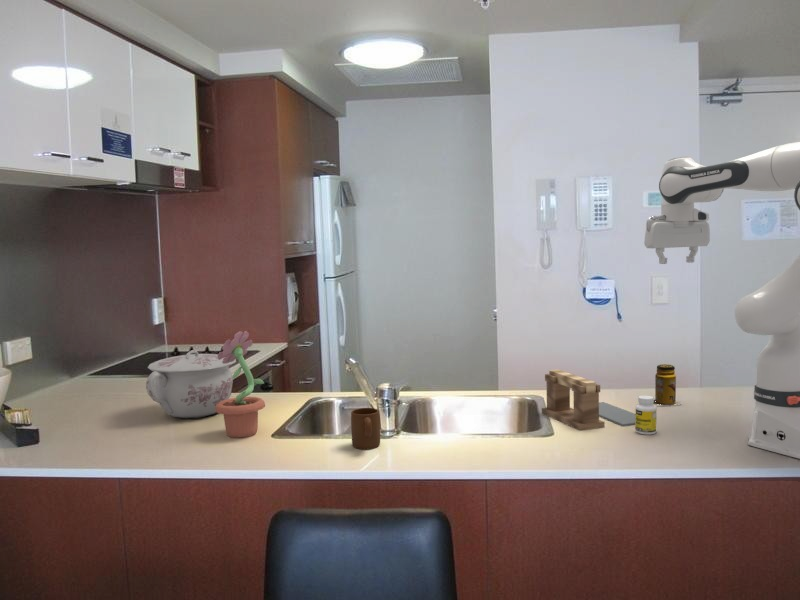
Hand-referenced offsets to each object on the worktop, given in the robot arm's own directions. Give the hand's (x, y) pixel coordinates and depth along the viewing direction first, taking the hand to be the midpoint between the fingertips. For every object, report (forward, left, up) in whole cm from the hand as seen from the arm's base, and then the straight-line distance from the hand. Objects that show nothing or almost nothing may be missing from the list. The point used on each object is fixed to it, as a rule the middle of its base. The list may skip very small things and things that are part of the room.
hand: (676, 263), depth 208 cm
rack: (+8, +30, -45) cm, 55 cm away
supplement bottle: (-11, +19, -45) cm, 50 cm away
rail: (+8, +30, -33) cm, 46 cm away
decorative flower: (+34, +122, -45) cm, 135 cm away
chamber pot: (+65, +134, -45) cm, 156 cm away
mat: (+8, +16, -45) cm, 48 cm away
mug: (+6, +93, -45) cm, 104 cm away
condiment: (+13, -6, -45) cm, 47 cm away
